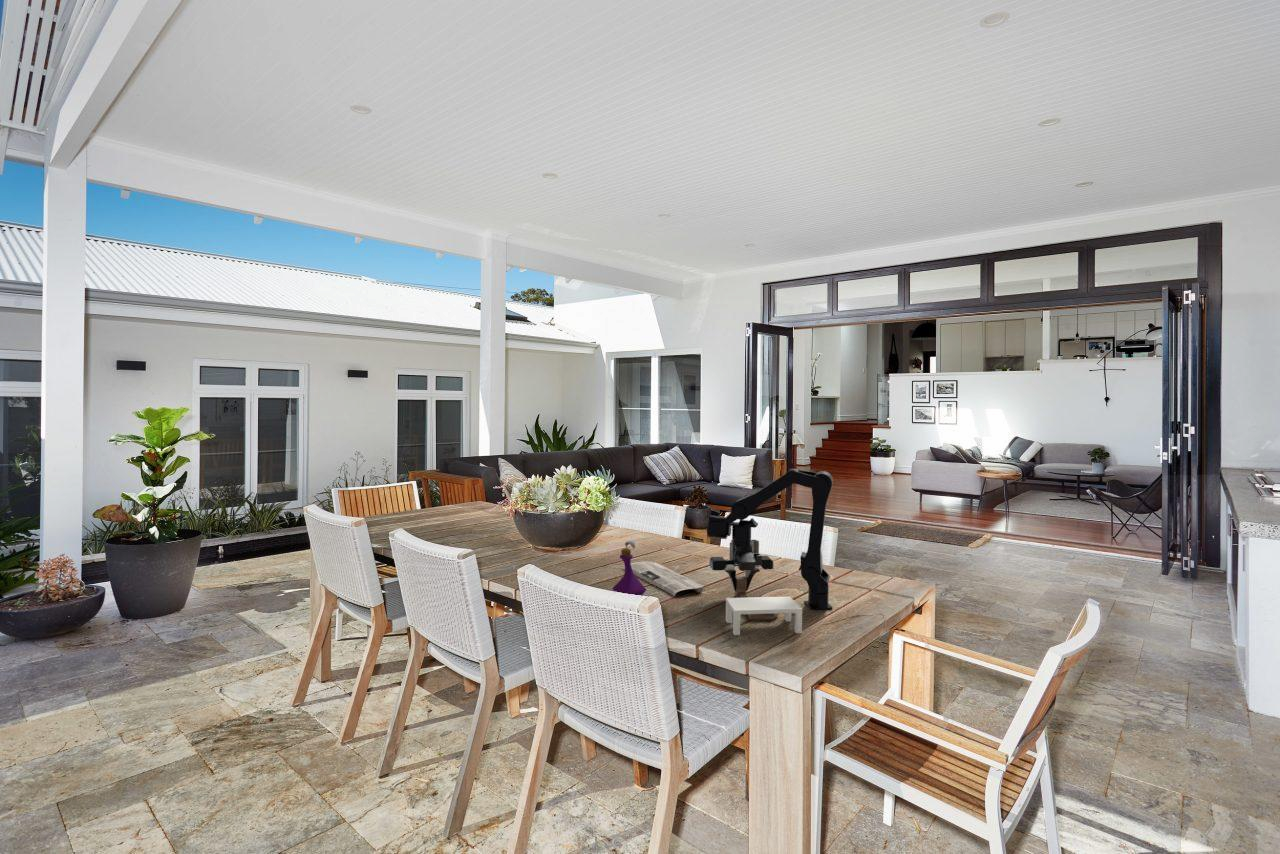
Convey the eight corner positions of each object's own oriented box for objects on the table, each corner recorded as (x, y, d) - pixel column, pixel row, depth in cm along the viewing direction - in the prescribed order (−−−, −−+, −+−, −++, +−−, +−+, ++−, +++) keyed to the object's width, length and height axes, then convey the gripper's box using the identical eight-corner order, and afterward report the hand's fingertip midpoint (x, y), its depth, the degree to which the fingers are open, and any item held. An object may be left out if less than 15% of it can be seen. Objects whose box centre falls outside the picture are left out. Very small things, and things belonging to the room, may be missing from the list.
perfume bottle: (611, 598, 196) (612, 540, 194) (631, 593, 200) (631, 536, 199) (627, 605, 190) (627, 545, 189) (646, 600, 195) (647, 541, 194)
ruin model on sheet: (734, 565, 235) (734, 538, 234) (729, 563, 238) (729, 537, 237) (759, 561, 240) (759, 535, 240) (754, 559, 243) (754, 534, 242)
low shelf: (725, 621, 178) (725, 598, 177) (789, 619, 179) (789, 596, 179) (734, 635, 168) (734, 610, 167) (801, 633, 169) (802, 608, 169)
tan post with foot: (734, 595, 199) (735, 576, 199) (758, 595, 200) (759, 576, 199) (747, 619, 179) (747, 598, 179) (774, 619, 179) (774, 598, 179)
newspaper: (623, 570, 227) (623, 560, 227) (654, 566, 233) (654, 556, 233) (677, 600, 197) (677, 588, 196) (710, 594, 203) (711, 583, 202)
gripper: (717, 547, 188) (716, 600, 189) (779, 546, 190) (778, 598, 191) (709, 538, 199) (708, 588, 200) (768, 537, 201) (767, 586, 202)
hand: (740, 590), depth 198 cm, fingers closed on tan post with foot, 3 cm apart
